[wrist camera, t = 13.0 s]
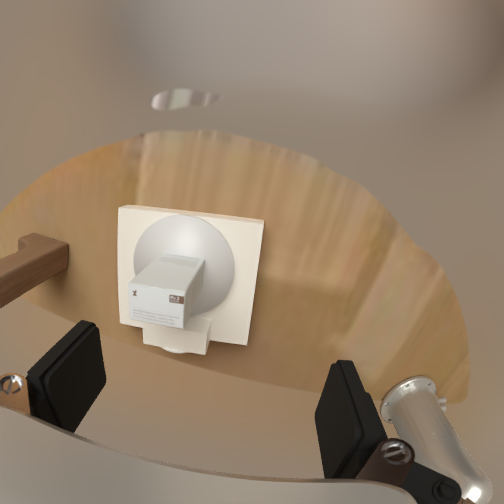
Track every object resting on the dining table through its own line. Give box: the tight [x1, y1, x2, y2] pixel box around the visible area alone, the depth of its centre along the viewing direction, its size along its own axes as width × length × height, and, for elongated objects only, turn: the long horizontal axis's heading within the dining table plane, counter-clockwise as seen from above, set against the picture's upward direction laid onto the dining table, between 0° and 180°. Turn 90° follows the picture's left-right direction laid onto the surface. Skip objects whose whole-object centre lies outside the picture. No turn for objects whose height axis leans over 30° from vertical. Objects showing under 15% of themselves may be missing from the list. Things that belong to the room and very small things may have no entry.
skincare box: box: [128, 253, 205, 329], centre depth 34 cm, size 6×4×12 cm
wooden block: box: [0, 233, 68, 308], centre depth 35 cm, size 9×4×18 cm, turn 77°
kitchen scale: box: [118, 205, 264, 355], centre depth 40 cm, size 20×18×8 cm
